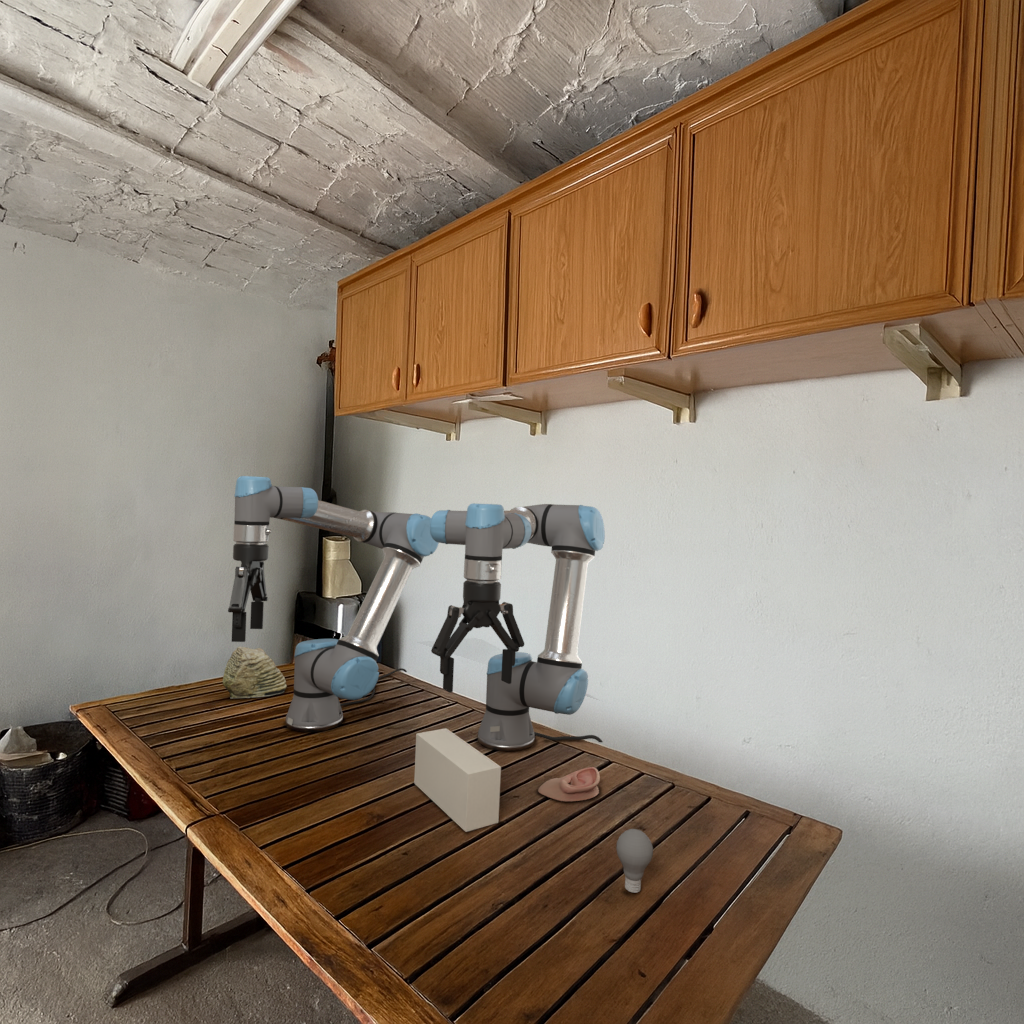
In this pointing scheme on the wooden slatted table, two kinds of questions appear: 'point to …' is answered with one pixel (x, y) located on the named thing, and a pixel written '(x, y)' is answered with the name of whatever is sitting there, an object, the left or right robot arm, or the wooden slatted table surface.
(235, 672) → the fossil
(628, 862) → the light bulb
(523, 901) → the wooden slatted table surface
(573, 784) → the anatomical model
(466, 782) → the box
